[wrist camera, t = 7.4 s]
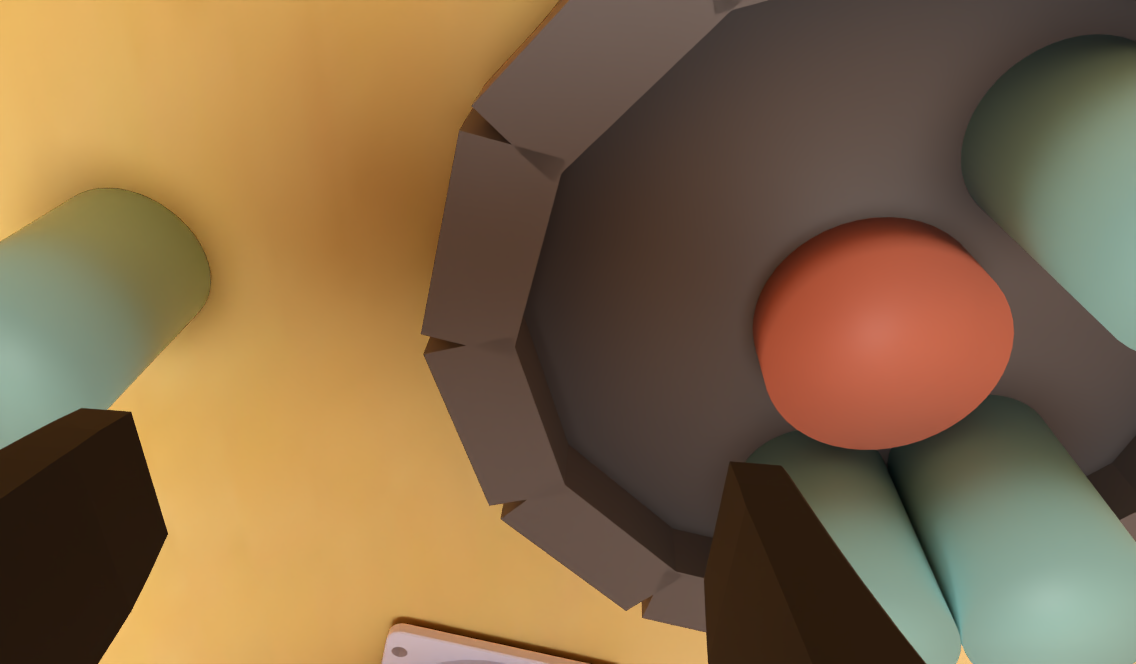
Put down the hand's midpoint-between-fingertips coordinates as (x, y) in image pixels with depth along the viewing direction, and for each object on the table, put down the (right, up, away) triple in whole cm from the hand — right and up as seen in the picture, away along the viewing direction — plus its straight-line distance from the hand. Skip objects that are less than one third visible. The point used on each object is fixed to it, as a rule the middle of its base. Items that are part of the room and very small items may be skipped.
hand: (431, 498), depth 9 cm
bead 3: (+12, -1, +10) cm, 15 cm away
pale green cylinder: (+8, -2, +10) cm, 13 cm away
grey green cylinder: (+11, +6, +5) cm, 14 cm away
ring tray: (+8, +3, +9) cm, 12 cm away
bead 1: (-9, +4, +9) cm, 14 cm away
